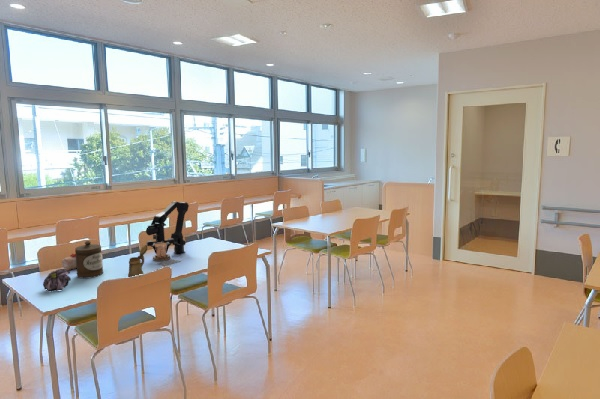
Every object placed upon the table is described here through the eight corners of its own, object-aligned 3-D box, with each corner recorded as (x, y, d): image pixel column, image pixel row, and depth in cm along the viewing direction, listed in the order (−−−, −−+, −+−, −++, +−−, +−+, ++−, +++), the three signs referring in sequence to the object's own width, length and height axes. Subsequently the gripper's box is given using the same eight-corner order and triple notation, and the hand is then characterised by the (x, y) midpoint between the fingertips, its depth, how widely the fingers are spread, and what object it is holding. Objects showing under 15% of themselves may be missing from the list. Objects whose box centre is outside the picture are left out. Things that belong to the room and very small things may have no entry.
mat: (172, 259, 290) (172, 259, 290) (180, 261, 284) (180, 261, 284) (157, 263, 279) (157, 263, 279) (165, 266, 274) (165, 265, 274)
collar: (163, 255, 300) (163, 253, 300) (173, 258, 293) (173, 255, 293) (149, 259, 291) (149, 256, 290) (159, 262, 284) (159, 259, 283)
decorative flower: (33, 276, 225) (56, 261, 237) (36, 291, 230) (59, 276, 243) (53, 285, 221) (75, 270, 234) (56, 300, 227) (78, 285, 239)
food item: (66, 271, 264) (65, 257, 263) (61, 269, 269) (60, 255, 268) (88, 266, 274) (87, 252, 273) (83, 264, 280) (82, 251, 278)
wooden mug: (152, 272, 259) (150, 245, 257) (132, 278, 249) (131, 250, 246) (144, 270, 265) (143, 243, 262) (125, 275, 254) (123, 248, 252)
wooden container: (89, 279, 248) (86, 244, 245) (71, 276, 253) (68, 242, 250) (108, 272, 262) (105, 239, 259) (91, 270, 267) (88, 237, 264)
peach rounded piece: (156, 257, 293) (155, 245, 292) (165, 256, 296) (165, 244, 295) (158, 261, 283) (157, 249, 282) (168, 260, 286) (167, 248, 285)
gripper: (171, 229, 301) (172, 249, 303) (145, 231, 292) (146, 252, 294) (174, 232, 291) (175, 253, 293) (146, 234, 282) (148, 256, 284)
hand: (161, 253), depth 291 cm, fingers closed on peach rounded piece, 7 cm apart
